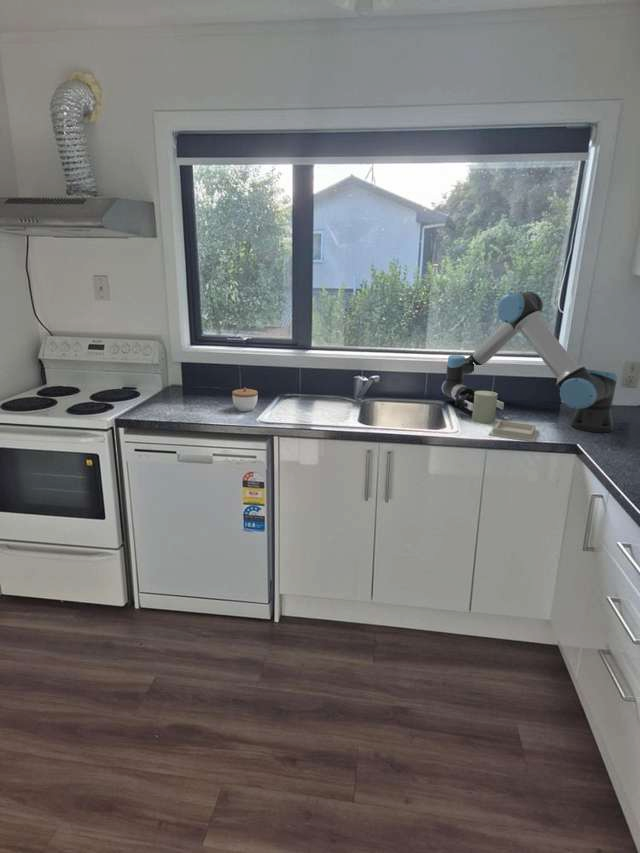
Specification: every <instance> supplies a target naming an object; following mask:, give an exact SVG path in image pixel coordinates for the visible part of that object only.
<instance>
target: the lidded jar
mask: <svg viewBox="0 0 640 853" xmlns="http://www.w3.org/2000/svg"><path fill="white" fill-rule="evenodd" d="M231 393H232V394H231V395H232V402H233V405H234V406H235V408H236V409H237V410H238V411H239V412H251V411H253V409H254V408H255V407H256V405H257V403H258V394H259V392H258V390H256V389H251V388H247V387H243V388H240V389H235V390H232V392H231Z"/></svg>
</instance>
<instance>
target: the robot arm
mask: <svg viewBox="0 0 640 853" xmlns="http://www.w3.org/2000/svg"><path fill="white" fill-rule="evenodd" d="M543 308H544V302H543V300H542V298H541V296H539V294H537V293H535V292H532V291H524V292H523V291H522V292H521V291H513V292H508V293H506V294H505V295H503V296H502V297H501V298H500V300H499V302H498V303H497V308H496V310H497V311H496V312H497V316H498V318H499V319H500V321H502V322H503V323H501V324H500V325H499V327H497V328H496V329H495V331H493V332H492V334H490V335H489V337H487V338H486V339H485V340H484V341H483V342H482V343H481V344H480V345H479V346H478V347H477V348H476V349H475V350H474V351H473V352H472V353H471V354H470V355H469V356H468V357H465V355H460V354H450V355H449V356H448V358H447V363H446V376H445V381H443V383H442V385H441V392H442V393H443V395H444V396H446V397H449V398H451V399H453V400H454V402H455V403H454V404H455V406H456V407H458V406H459V408H460V409H463V408H465V409H467V410H469V411H471V412H473V405H474V395H475V391H474V390H473V389H472V388H470V387H469V386H467V385H465V384H464V385H463V383H464V382H463V380H464V376H466V375H470V373H472V372H473V371H474V364H473V362H474V363H475V364H476V365H482V364H484V363H485V364H487V363H488V362H489V361H490V360H491V359H492V358H493V357H494V356H495V355H496V354H497V353H498V352H499V351H500V350H502V349H503V347H505V346H507V344H508V343H509V342H510V341H511V340H512V339H513V338H515V336H516V335H518V333H522V335H523V336H524V338H525V339H526V340H527V342H528V343H529V344H530V345H531V346H532V348H533V349H534V351H535V352H536V353H537V354H538V356H539V357H540V359H541V360H542V361H543V363H544V364H545V365H546V366H547V367H548V368H549V370H550V372H552V374H553V376H554V377H555V378H556V380H557V381H556V384H555V385H556V386H557V388H558V389H559V397H560V400H561V401H562V402H563V404H564V405H566V406H567V407H569V408H571V409H576V411H575V413H574V414H573V415H572V418H571V420H570V426H571V427H573V428H575V429H578V430H580V431H585V432H590V433H591V432H592V433H603V434H604V433H605V434H606V433H610V432H612V431H613V429H614V421H613V420H614V419H613V416H612V415H613V414H612V408H613V407H612V406H613V401H614V396H615V392H616V387H617V383H618V380H617V378H618V375H617V373H615V372H612V371H606V370H600V369H591V368H586V367H585V366H582V365H578V364H577V363H576V362H575V360H574V359H573V358H572V356H571V355H570V353H568V351H567V350H566V349H565V348H564V346H563V345H562V343H560V341H559V340H558V339H557V338H556V336H555V335H554V334H553V333H552V331H551V330H550V329H549V327H548V326H547V325H546V324H545V322H544V321H543V320H542V318H541V315H542V312H543ZM504 406H505V402H503V401H501V398H500V397H498V396H497V403H496V409H497V408H498V409H500V410H504Z"/></svg>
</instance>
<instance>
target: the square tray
mask: <svg viewBox="0 0 640 853" xmlns="http://www.w3.org/2000/svg"><path fill="white" fill-rule="evenodd" d="M536 427H537V425H536V424H530V423H523V422H516V421H509V420H502V419H499V420H498V421H497V423H495V425H494V426H493V427H492V429H491V430H490V432H489V433H488V436H490V437H491V436H492V437H497V438H504V439H510V438H511V439H510V440H516V439H517V440H518V441H522V440H524V442H530V443H535V440H536V438H537V436H538V433H539V432H540V431H539V429H536ZM517 440H516V441H517Z"/></svg>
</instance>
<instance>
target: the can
mask: <svg viewBox="0 0 640 853" xmlns="http://www.w3.org/2000/svg"><path fill="white" fill-rule="evenodd" d="M474 393H475V395H474V403H473V411H472V414H471V415H472V416H471V421H473V422H475V423H479V424H494V423H495V421H496V420H495V418H496V410H497V407H496V403H497V397H498V396H499V395H498V393H497V392H495V391H492V390H491V391H490V390H475V391H474Z"/></svg>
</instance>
